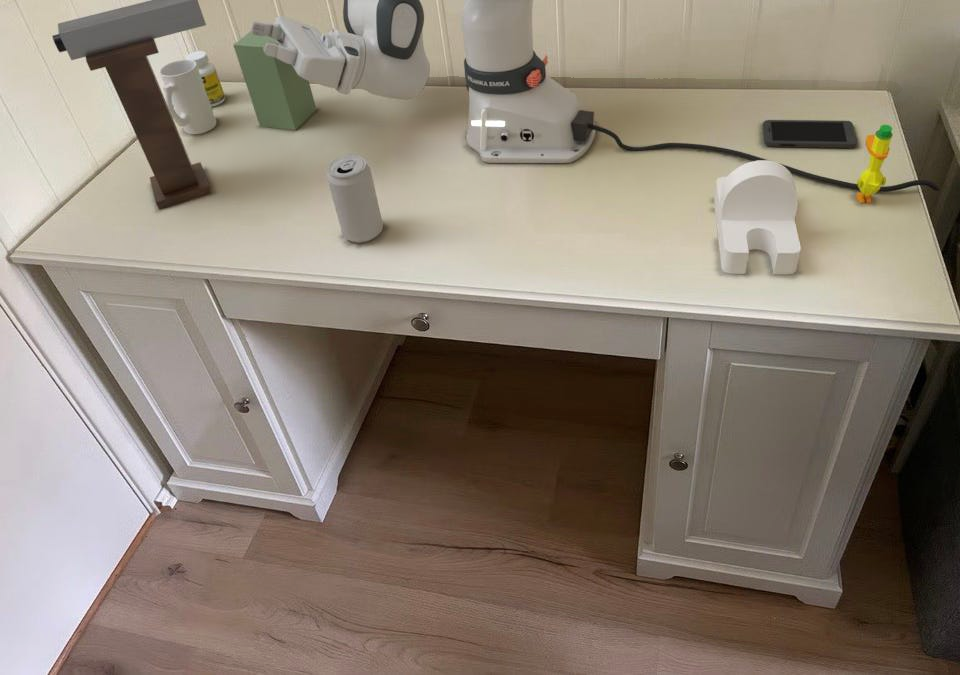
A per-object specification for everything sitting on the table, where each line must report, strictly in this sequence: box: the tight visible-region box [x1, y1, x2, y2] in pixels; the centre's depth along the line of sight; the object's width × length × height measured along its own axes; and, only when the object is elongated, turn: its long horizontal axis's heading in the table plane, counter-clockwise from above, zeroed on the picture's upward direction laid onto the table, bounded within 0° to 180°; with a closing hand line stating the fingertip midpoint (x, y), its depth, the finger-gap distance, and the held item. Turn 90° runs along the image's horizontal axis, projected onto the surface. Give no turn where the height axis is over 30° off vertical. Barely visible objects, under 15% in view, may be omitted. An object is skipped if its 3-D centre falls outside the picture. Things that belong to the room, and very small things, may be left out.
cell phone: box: [762, 119, 858, 149], centre depth 127 cm, size 7×14×1 cm, turn 78°
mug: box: [158, 58, 217, 135], centre depth 147 cm, size 10×7×12 cm, turn 165°
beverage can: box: [326, 155, 384, 244], centre depth 117 cm, size 6×6×12 cm
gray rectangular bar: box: [52, 0, 207, 61], centre depth 117 cm, size 21×4×4 cm, turn 114°
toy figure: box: [855, 124, 893, 204], centre depth 110 cm, size 7×4×12 cm, turn 176°
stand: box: [85, 39, 212, 210], centre depth 127 cm, size 10×9×26 cm
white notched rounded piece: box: [713, 159, 802, 276], centre depth 107 cm, size 10×18×11 cm, turn 171°
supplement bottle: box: [185, 50, 226, 108], centre depth 156 cm, size 5×5×10 cm
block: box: [233, 30, 317, 131], centre depth 145 cm, size 8×8×16 cm
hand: (258, 37), depth 126 cm, fingers open, 8 cm apart
